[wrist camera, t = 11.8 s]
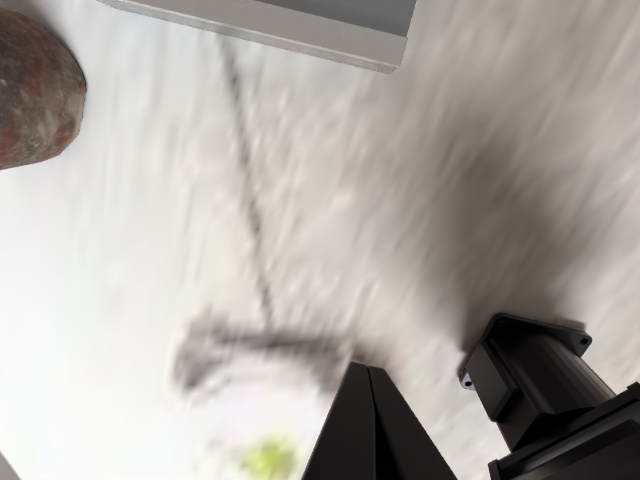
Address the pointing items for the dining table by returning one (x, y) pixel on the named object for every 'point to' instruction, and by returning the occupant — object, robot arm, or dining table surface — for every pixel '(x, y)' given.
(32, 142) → the candle
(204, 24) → the jig
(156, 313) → the dining table surface
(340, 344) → the dining table surface
